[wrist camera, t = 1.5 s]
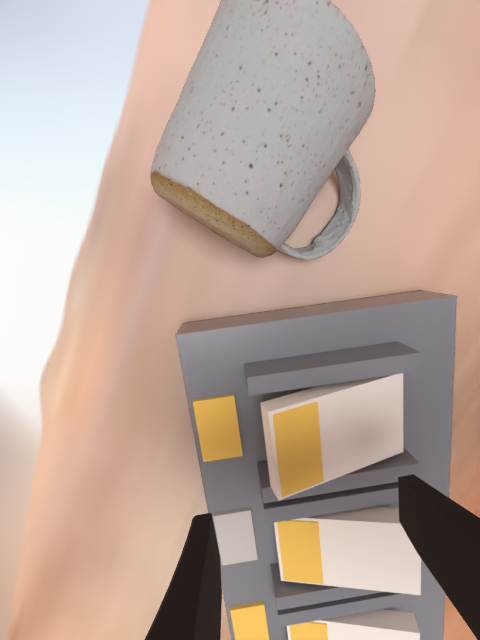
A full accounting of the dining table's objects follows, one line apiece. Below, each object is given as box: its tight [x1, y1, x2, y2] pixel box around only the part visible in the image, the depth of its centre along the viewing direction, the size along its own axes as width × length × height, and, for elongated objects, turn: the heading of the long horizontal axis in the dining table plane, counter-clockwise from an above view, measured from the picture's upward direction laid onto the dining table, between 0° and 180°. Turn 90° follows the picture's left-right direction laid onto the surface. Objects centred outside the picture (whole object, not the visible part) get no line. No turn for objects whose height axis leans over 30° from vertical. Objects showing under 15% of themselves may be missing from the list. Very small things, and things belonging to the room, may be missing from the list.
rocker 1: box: [260, 373, 403, 501], centre depth 15 cm, size 8×5×1 cm, turn 97°
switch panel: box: [176, 290, 457, 640], centre depth 19 cm, size 16×28×5 cm, turn 7°
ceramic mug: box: [151, 0, 376, 260], centre depth 13 cm, size 11×8×8 cm
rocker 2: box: [274, 507, 421, 595], centre depth 17 cm, size 8×5×1 cm, turn 97°
